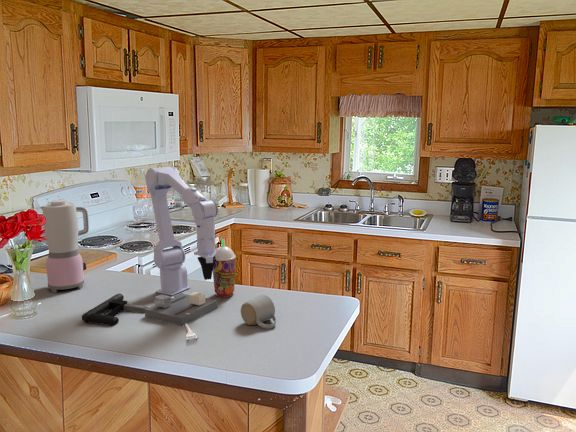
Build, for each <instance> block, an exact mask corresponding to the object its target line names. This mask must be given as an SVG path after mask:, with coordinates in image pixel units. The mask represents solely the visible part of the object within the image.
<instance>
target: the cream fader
mask: <svg viewBox="0 0 576 432" xmlns="http://www.w3.org/2000/svg"><path fill="white" fill-rule="evenodd" d="M188 295H189V302H190V303H191V304H195V305H201V304H203V303H205V298H206V293H204V292H203V293H202V292H197V291H194V292H192V293H190V294H188Z"/></svg>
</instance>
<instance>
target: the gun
mask: <svg viewBox="0 0 576 432" xmlns="http://www.w3.org/2000/svg"><path fill="white" fill-rule="evenodd" d="M124 298H125V297H124V295H123V294H122V293H117V294H114V295H113V296H111V297H110V298H108V299H106V300H104V301H103V302H101V303H100V304H97V305H96V306H94V307H93V308H91V309H90V310H88V311H87V312H86V311H85V313H84V312H83V314H82V315H81V321H82V322H83V323H85V324H87V323H92V324H93V323H94V324H100V325H106V326H116V325H117V324H118V323H119V320H120V319H119V318H118V317H117V315H119V314H120V313H122V312H123V311H127V312H133V313H134V312H137V313H145V309H147V308H149V306H145V305H137V304H132V303H128V300H124ZM108 311H109V312H108ZM106 312H107V313H106Z"/></svg>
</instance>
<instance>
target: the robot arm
mask: <svg viewBox="0 0 576 432" xmlns="http://www.w3.org/2000/svg"><path fill="white" fill-rule="evenodd" d="M144 177H145V178H144V179H145V183H146V188H147V193H148V194H150V198H151V202H152V210H153V215H154V219H155V224H156V230H157V234H158V240H159V241H158V242H157V243H156V245H154V247H153V262H154V264H155V266H156V267H157V268H158V269H159V276H160V289H157V290H155V293H158V294H161V295H166V296H176V295H178V294H180V293H182V292H184V291H186V290H188V289H190V288H191V287H190V286H189V285H188V284H189V282H188V281H189V280H188V269H187V267H186V265H184V264H183V263H184V262H185V260H186V252H185V250H184V247H183V245H182V242H181V241H179V240H178V239H176V238H175V234H174V230H173V224H172V218H171V213H170V209H169V202H168V198H167V194H168V193H169V191H171V190H172V189H174V191H176V192H177V193H178V194H179V195H181V201H182V202H183V203H184V204H185V205H186V206H187V207H188V208H189V209H190V210H191V213H192V216H193V219H194V224H195V225H196V245H197V247H196V248H197V250H195V251H193V254H194V256H198V257H197V260H198V262H199V264H200V267H201V271H202V275H203V279H204V280H211V279H212V277H213V267H214V264H215V262H216V258H215V256H214V255H215V254H216V223H215V217H216V218H217V216H218V213H219V207H218V204H217V202H216V201H215V200H214V199H212V198H210V199H209V198H206V197H205V196H204V195H203V194H202V193H201V192H200V191H198V189H197V188H196V187H193V186H192V187H191V186H189V185H188V184H187V183H186V182H185V181H184V179H182V178H181V176H180V172H179V169H177V168H176V167H175V166H174V165H169V166H166V167H165V166H164V167H150V168H149V167H148V169H147V171H146V173H145V175H144Z"/></svg>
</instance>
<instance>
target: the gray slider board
mask: <svg viewBox="0 0 576 432" xmlns="http://www.w3.org/2000/svg"><path fill="white" fill-rule="evenodd" d="M189 295H190V294H187V293H182V292H180V293H177V294H175V295H173V296H172V297H171V305H170V306H168V307H166V308H162V307H158V306H155V304H154V305H151V306H148V308H147V309H145V312H144V318H147V319H151V320H154V321H155V320H156V321H161V322H165V323H166V324H167V323H168V324H171V325H177V326H180V327H183V325H184V326H185V323H187V324H189V323H191V322H193V321H195V320H197V319H199V318H200V316H201V317H203V316H204V314H205V315H207V314H208V313H210V312H212V311H214V310H216V309H218V300H216V299H211V298H206V297H205V303H203V304H201V305H195V304H191V303H190V302H189ZM202 315H203V316H202ZM198 317H199V318H198Z"/></svg>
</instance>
